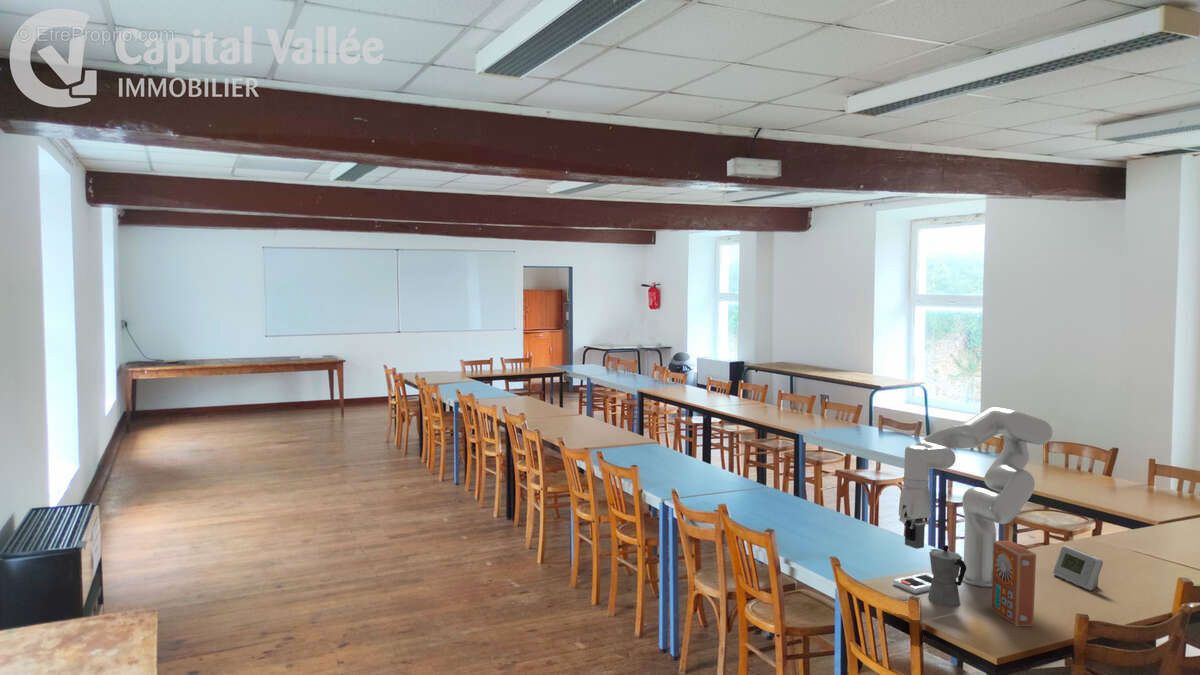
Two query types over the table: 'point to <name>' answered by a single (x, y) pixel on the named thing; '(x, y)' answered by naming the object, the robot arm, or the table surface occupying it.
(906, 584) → the power strip
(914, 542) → the plug
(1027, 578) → the control panel
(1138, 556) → the table surface
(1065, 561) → the digital clock
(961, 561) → the coffeepot
